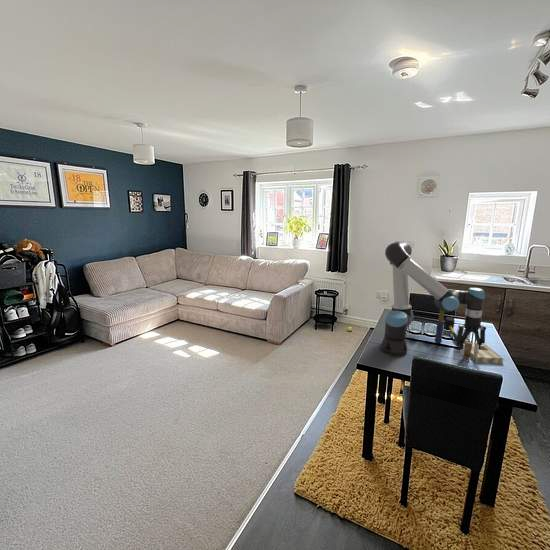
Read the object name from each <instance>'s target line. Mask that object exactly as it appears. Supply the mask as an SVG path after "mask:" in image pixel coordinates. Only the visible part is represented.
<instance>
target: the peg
mask: <svg viewBox="0 0 550 550" xmlns="http://www.w3.org/2000/svg"><path fill="white" fill-rule="evenodd" d="M472 343H473V342H471V341H466V340H465V342H464V344H465V350H464V355H462V354H461V355H462V356H461V357H462V358H463V359H464V361H467V360H468V361H470V358H471V357H470V356H471V350H472ZM463 359H462V360H463Z"/></svg>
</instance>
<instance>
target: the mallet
mask: <svg viewBox="0 0 550 550" xmlns="http://www.w3.org/2000/svg"><path fill="white" fill-rule="evenodd" d="M455 322H456V321H455V318H453V317H452V316H446V317H445V319H444V321H443V330H444V329H446V330H451V334H452V337H453V339H454V341H455V343H456V346H458V347H459V345H460V343H458V342H457V341H456V339H457V335H458V334H457V333H456V331H455V330H454V327H455Z"/></svg>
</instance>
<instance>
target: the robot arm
mask: <svg viewBox="0 0 550 550" xmlns="http://www.w3.org/2000/svg"><path fill="white" fill-rule="evenodd" d="M412 250H413V249H412V246H411V245H410V243H408V242H406V241H404V240H398V241H395V242H392V243H390V244H388V245H387V246H386V247H385V252H384V254H385V255H384V256H385V258H386V259H387V261H388V262H389V265H390V266H391V267H392V284H393V285H392V286H393V304H392V305H391V311H390V310H389V311H388V312H387V313H386V317H385V326H384V336H383V339H382V340H381V343H380V347H379V348H380V351H382V353H384V354H386V355H390V356H394V357H402V356H405V355H407V353H408V346H407V342H406V335H407V329H408V328H409V326H410V325H411V324H412V323H413V321H414V317H415V315H414V313H413V310H412V309H413V307H412V305H411V304H410V297H409V296H410V295H409V277H410V278H411V279H412V280H414V282H416V283H417V284H418V285H419V286H421V287H422V288H423V289H424V290H425V291H426V292H427V293H429V294H430V295H431V296H432V297H433V298H434V299H435V298H436V299H437V300H438V301H439V302H441V303H442V306H443V307H444V309H446V310H448V311H449V312H453V311H456V310H457V309H458V308H459V307H460V305H465V307H466V308H465V316H464V324H462V325H458V326H457V327H458V331H457V334H456V335H457V339H456V341H457V342H458V343H460V345H459V346H458V347H459V349H460V350H459V353H460V355H464V350H465V344H464V342H465V341H466V340H467V338H468V336H469V335H470V333H473V334H474V338H475V343H474V344H475V347H474V354H475V355H476V356H478V349H479V350H480V345H482V344H486V342H485V341H486V329H487V327H486V326H485V325H483V324H482V325H481V323H482V316H483V309H484V302H485V290H484V289H483V288H479V287H469V288H468V290H458V289H452V288H450V289H449V288H447V287H445V285H443V284H442V283H441V282H440V281H438V280H437V279H436V278H434V277H433V276H432V275H431V274H430V273H429V272H428V271H427V270H425V269H424V268H422V266H420V265H419V264H418V263H416V261H414V260H413V259H412V256H411V255H412V253H413V252H412ZM456 341H455V342H456Z"/></svg>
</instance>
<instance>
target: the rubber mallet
mask: <svg viewBox="0 0 550 550" xmlns="http://www.w3.org/2000/svg"><path fill="white" fill-rule="evenodd" d="M433 304H434V305H435V306H436V307H437V309H439V315H438V320H437V323H436V326H435V327H436V329H435V331H436V332H435V338H434V343H436V344H438V343H440V344H441V343H442V342H443V341H442V338H443V337H442V336H443V332H444V320H445V319H444V316H445V313H449V312H450V311H448V310H446V309H444V307H443V306H442V303H441V302H439V301H438V300H437V299H436V298H435V297H434V300H433Z"/></svg>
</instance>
